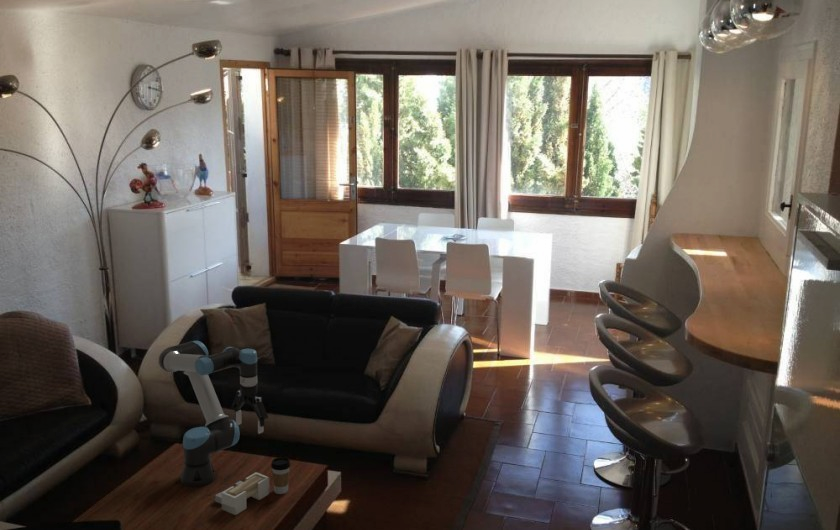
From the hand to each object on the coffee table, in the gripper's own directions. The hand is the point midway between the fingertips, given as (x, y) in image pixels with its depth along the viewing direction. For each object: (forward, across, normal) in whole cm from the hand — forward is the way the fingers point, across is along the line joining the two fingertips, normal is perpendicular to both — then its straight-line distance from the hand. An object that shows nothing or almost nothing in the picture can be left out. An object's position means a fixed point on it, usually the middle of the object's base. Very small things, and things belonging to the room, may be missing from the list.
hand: (249, 428), depth 332 cm
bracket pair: (+28, +8, -11) cm, 31 cm away
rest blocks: (+28, 0, -11) cm, 30 cm away
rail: (+25, +8, -11) cm, 28 cm away
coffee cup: (+28, +14, +4) cm, 32 cm away
